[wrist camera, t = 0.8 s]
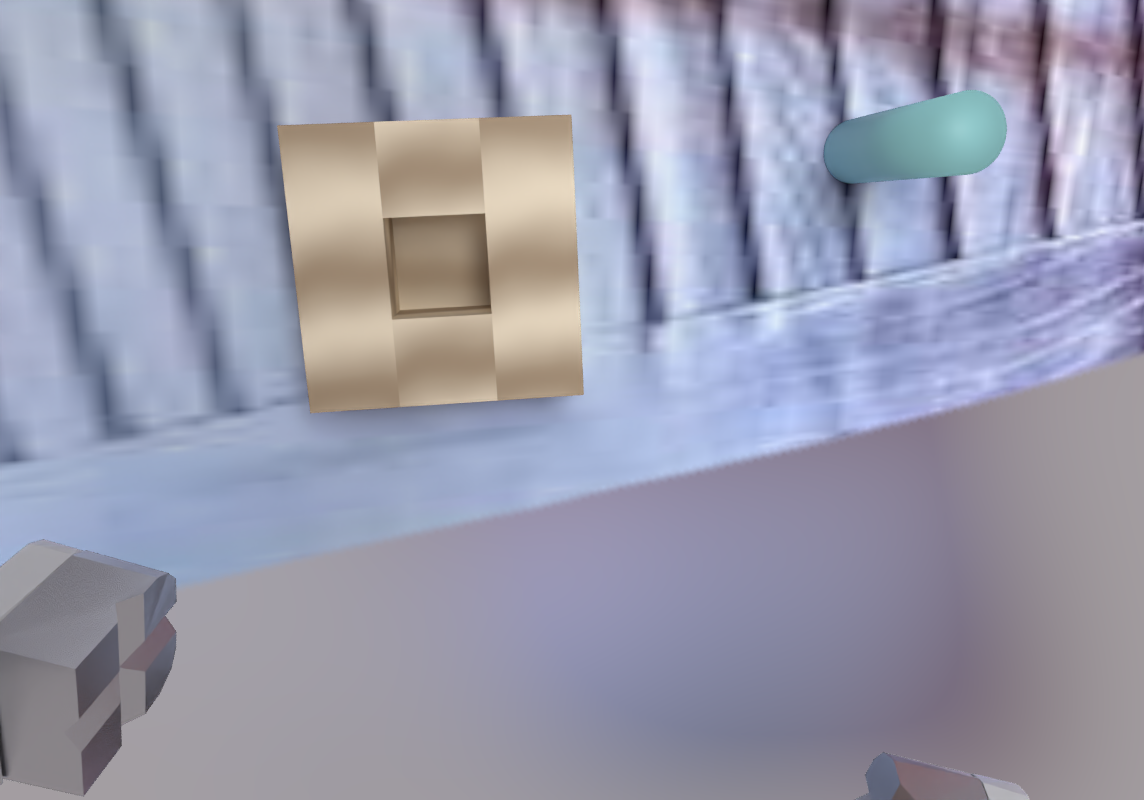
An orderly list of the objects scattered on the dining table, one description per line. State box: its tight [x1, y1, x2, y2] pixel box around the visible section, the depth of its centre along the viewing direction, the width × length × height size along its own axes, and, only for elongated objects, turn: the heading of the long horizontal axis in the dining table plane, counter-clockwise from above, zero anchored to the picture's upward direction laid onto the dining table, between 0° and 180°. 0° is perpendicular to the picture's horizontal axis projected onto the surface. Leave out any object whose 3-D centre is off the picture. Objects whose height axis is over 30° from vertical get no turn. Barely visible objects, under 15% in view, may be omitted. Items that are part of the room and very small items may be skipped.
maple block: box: [277, 115, 584, 413], centre depth 46 cm, size 14×14×6 cm
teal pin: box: [824, 90, 1007, 184], centre depth 44 cm, size 4×4×12 cm
